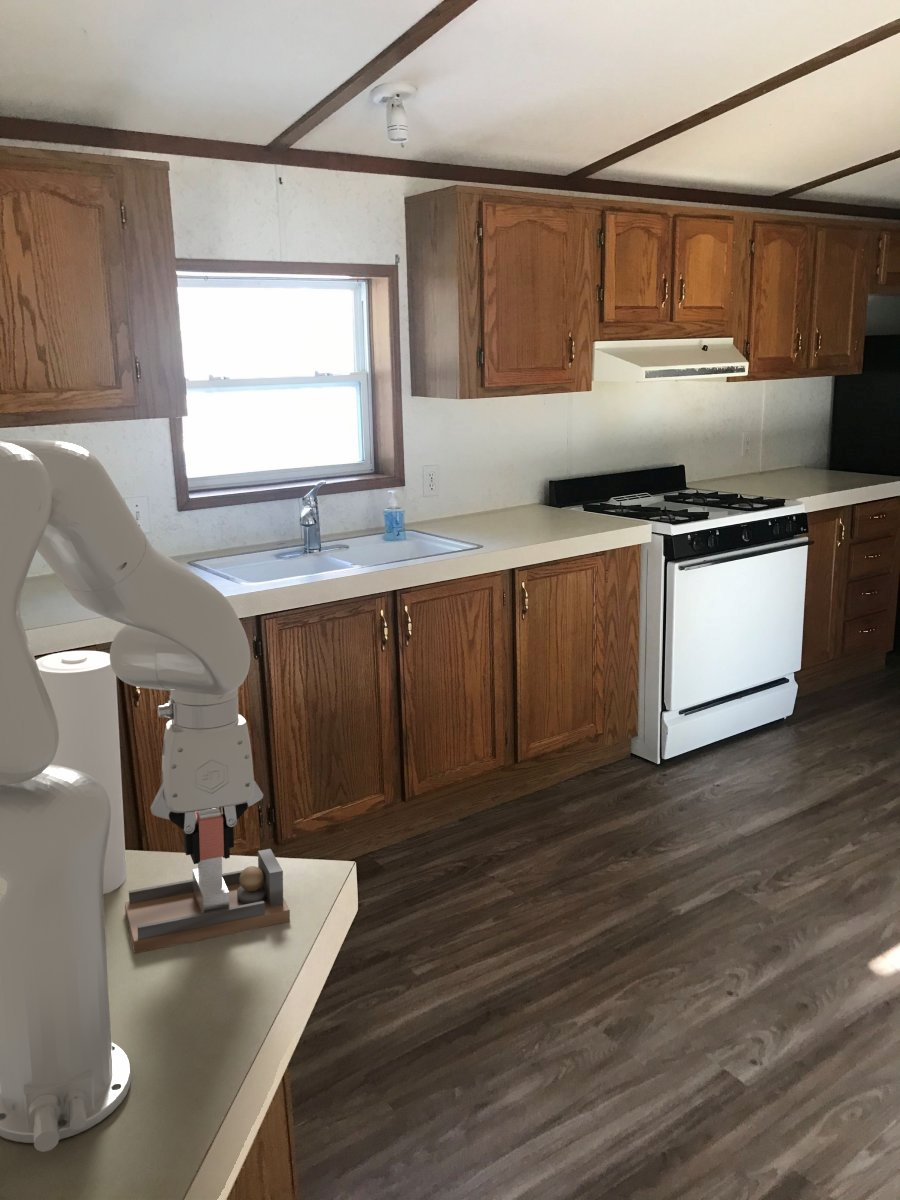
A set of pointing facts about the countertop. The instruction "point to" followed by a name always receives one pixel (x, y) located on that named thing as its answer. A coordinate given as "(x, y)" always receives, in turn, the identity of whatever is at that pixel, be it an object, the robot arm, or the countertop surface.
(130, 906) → the nutcracker board
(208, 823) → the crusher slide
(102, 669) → the cylinder container
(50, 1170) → the countertop surface
